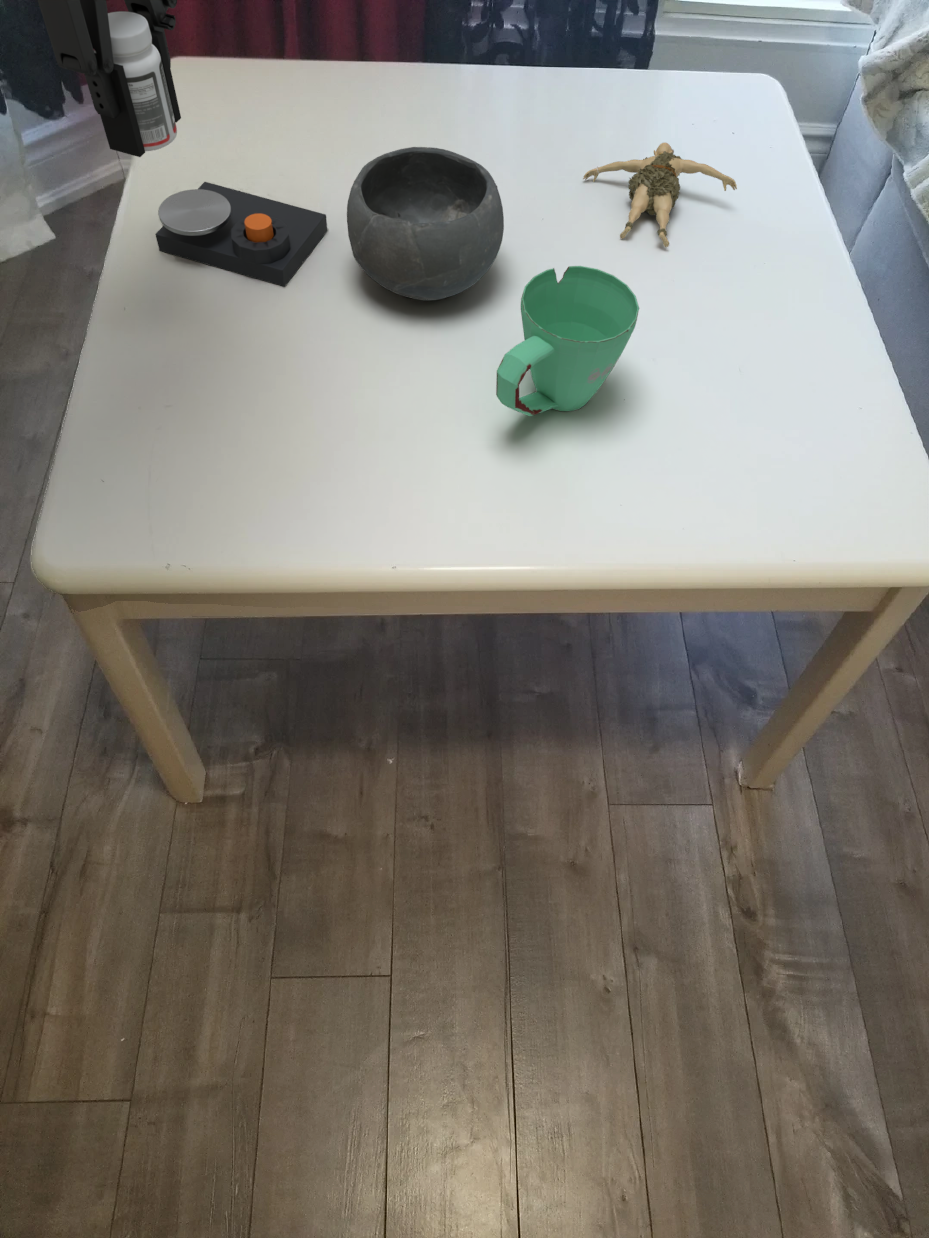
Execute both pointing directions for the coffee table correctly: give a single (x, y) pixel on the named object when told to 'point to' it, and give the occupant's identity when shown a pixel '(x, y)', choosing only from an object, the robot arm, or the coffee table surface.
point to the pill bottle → (143, 78)
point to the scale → (253, 259)
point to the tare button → (259, 228)
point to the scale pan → (195, 212)
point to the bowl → (425, 222)
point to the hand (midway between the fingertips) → (146, 132)
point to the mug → (567, 339)
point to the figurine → (657, 184)
